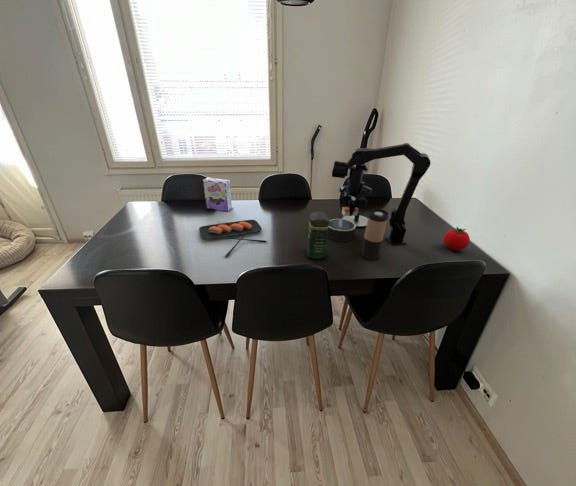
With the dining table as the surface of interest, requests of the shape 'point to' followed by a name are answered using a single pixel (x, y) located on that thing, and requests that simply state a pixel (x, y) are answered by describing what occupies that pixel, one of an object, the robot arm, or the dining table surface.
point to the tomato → (456, 239)
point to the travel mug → (374, 233)
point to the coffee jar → (317, 235)
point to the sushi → (347, 213)
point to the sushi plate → (230, 230)
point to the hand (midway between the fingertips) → (349, 212)
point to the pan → (341, 230)
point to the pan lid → (357, 220)
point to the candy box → (217, 194)
